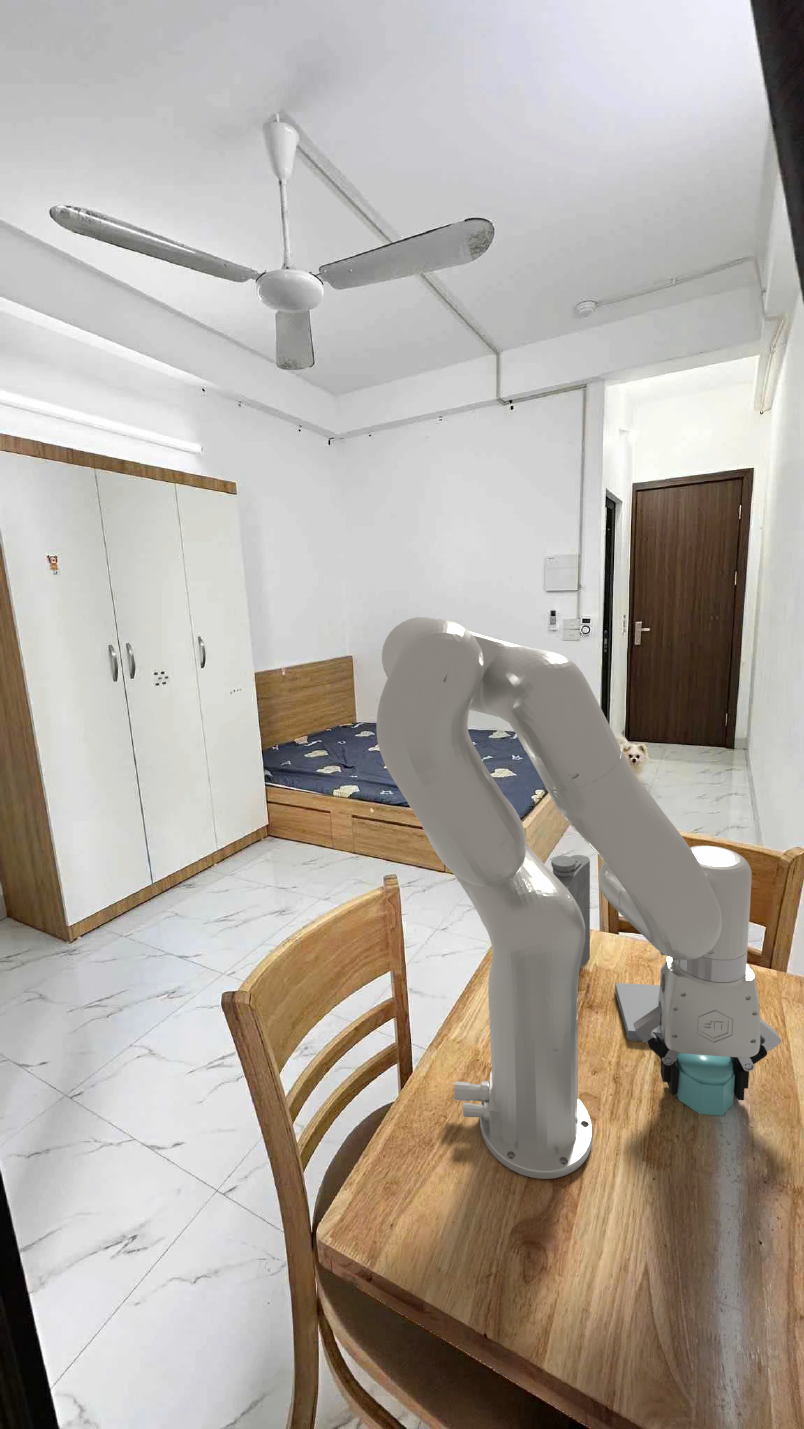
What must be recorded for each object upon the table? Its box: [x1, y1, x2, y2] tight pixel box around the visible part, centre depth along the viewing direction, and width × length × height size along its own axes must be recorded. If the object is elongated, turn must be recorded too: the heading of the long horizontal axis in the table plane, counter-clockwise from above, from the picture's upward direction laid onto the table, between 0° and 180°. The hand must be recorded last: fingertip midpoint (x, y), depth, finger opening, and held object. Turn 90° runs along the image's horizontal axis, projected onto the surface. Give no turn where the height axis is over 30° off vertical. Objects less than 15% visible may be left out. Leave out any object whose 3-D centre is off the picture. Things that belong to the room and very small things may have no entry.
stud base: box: [614, 982, 663, 1042], centre depth 84 cm, size 14×10×2 cm
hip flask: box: [550, 854, 591, 971], centre depth 92 cm, size 16×4×20 cm, turn 148°
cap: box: [676, 1053, 735, 1117], centre depth 71 cm, size 6×6×5 cm
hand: (702, 1086), depth 71 cm, fingers open, 6 cm apart
